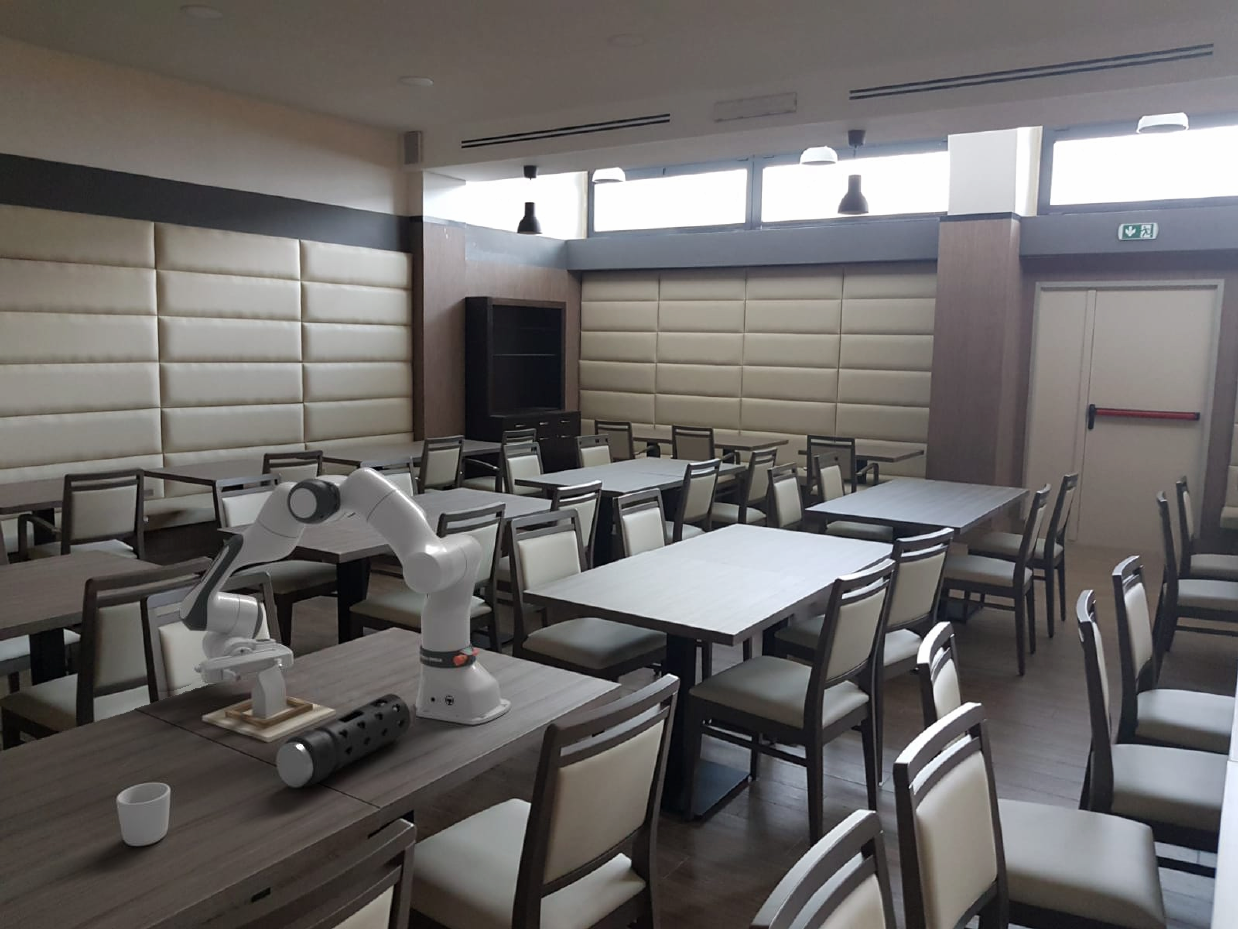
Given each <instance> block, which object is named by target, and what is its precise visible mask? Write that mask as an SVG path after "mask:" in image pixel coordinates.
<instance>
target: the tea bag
mask: <svg viewBox="0 0 1238 929" xmlns="http://www.w3.org/2000/svg"><path fill="white" fill-rule="evenodd" d="M286 685H287V684H286V681H285V678H284V676H283V675H282V672H281V671H280V668H279V665H276V666H274V667H271V668H269V669H267V670H265V671H263V672H261V673H258V674H256V677H255V682H254V684H253V687H252V688H251V698H252V716H253V717H256V718H260V719H268V718H270V717H272V716H274V715H276V714H277V713H279V712H281V711H283V710H285V709H287V708H286V696H287V689H286V688H287V686H286Z"/></svg>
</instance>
